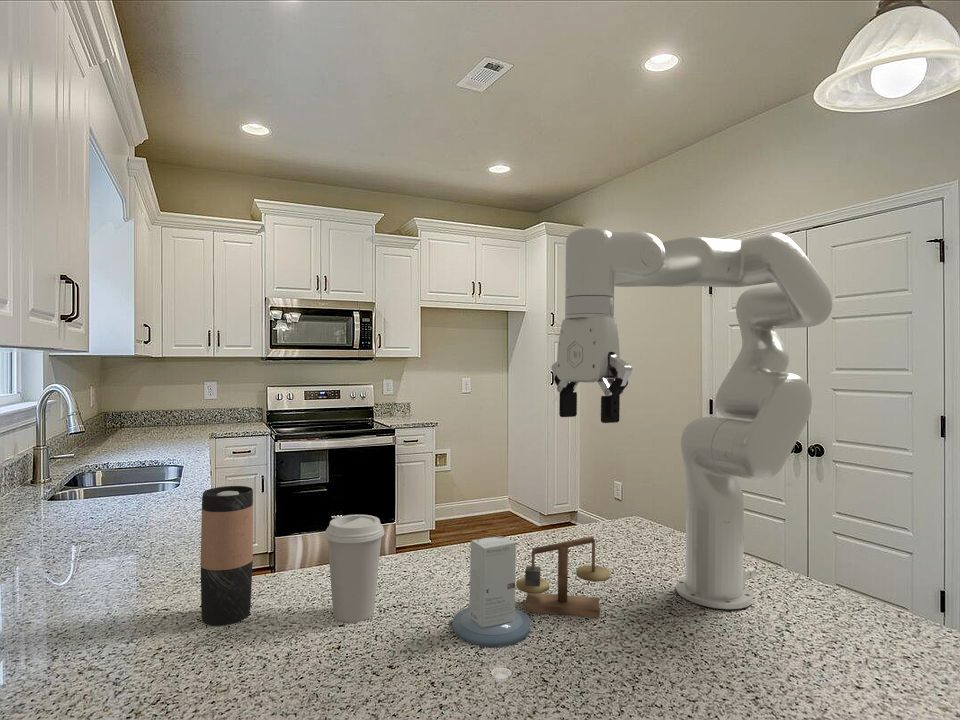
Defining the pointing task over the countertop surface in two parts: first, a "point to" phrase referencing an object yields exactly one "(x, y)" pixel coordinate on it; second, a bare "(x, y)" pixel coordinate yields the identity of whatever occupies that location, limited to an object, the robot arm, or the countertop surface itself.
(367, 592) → the coffee cup
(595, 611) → the balance
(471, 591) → the skincare box
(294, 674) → the countertop surface
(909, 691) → the countertop surface
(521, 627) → the dish
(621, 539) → the countertop surface
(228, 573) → the travel mug
